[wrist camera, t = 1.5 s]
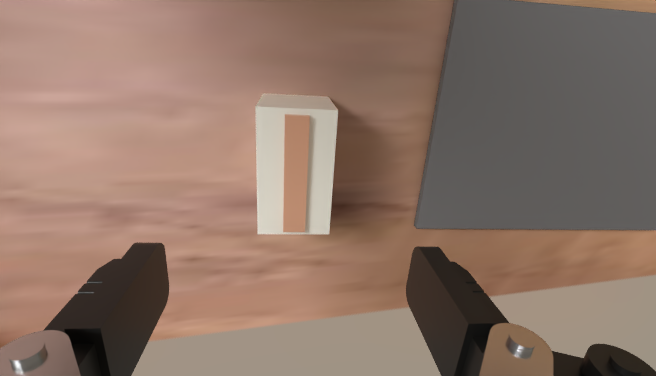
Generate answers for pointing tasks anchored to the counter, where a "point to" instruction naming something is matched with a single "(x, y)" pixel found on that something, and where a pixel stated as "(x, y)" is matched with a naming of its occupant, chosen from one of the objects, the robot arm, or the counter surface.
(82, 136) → the counter surface
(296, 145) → the block
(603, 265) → the counter surface
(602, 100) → the rubber mat
